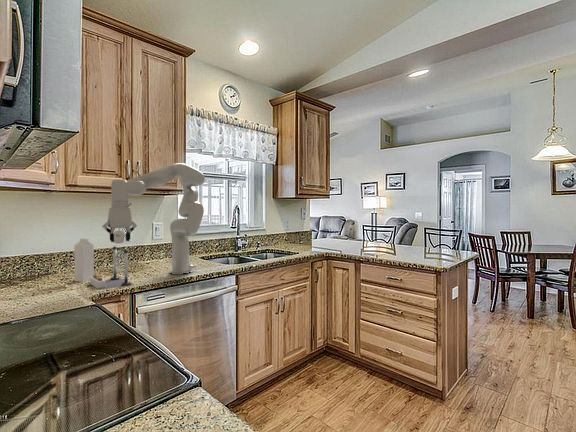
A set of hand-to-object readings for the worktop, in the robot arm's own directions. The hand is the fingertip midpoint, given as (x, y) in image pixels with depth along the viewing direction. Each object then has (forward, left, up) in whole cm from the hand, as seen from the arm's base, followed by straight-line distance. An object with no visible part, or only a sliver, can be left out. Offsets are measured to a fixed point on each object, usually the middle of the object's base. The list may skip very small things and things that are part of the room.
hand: (120, 241), depth 161 cm
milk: (+12, -17, -22) cm, 30 cm away
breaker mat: (+4, 0, -21) cm, 22 cm away
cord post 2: (0, +8, -20) cm, 22 cm away
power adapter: (0, 0, -1) cm, 1 cm away
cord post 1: (0, -9, -20) cm, 22 cm away
